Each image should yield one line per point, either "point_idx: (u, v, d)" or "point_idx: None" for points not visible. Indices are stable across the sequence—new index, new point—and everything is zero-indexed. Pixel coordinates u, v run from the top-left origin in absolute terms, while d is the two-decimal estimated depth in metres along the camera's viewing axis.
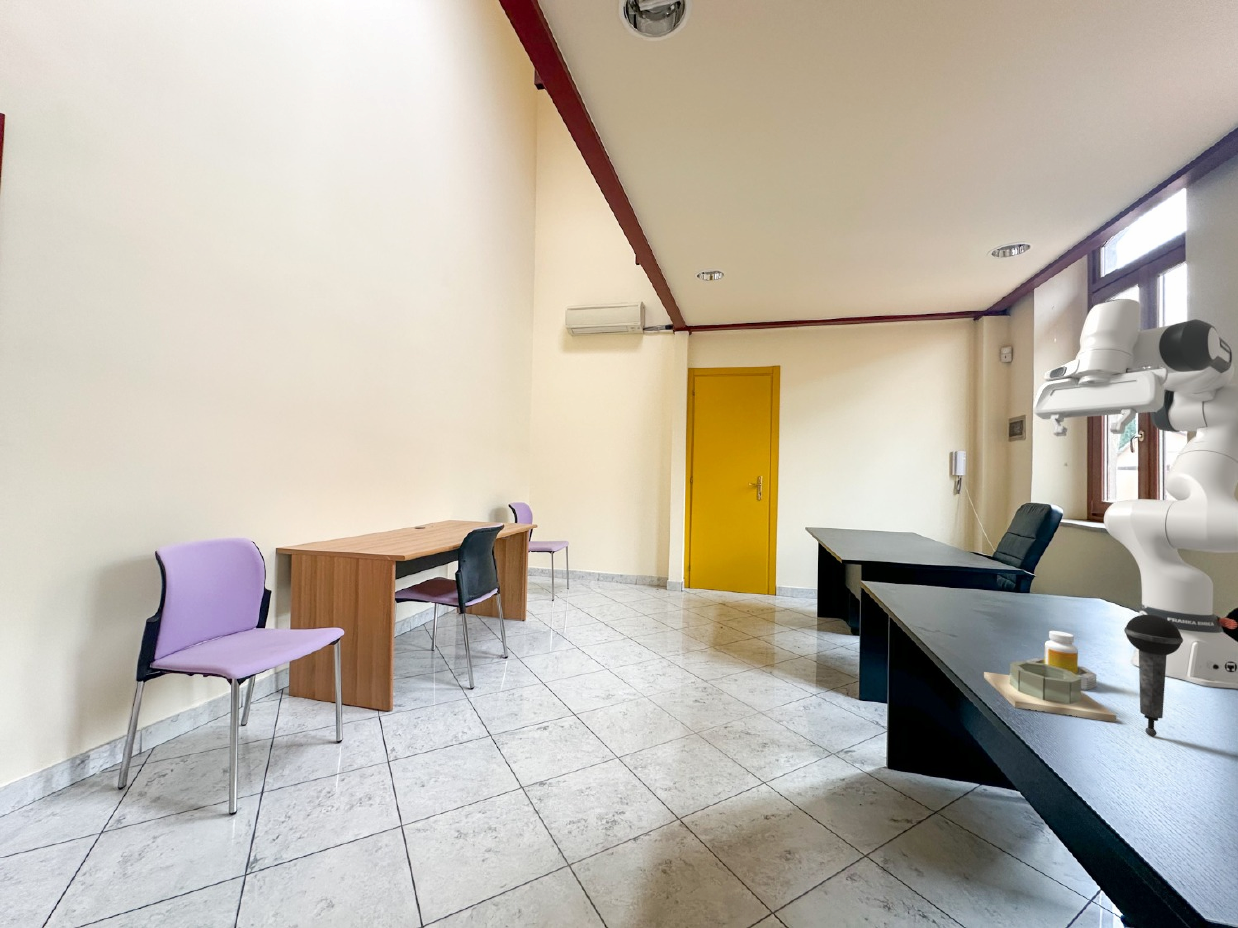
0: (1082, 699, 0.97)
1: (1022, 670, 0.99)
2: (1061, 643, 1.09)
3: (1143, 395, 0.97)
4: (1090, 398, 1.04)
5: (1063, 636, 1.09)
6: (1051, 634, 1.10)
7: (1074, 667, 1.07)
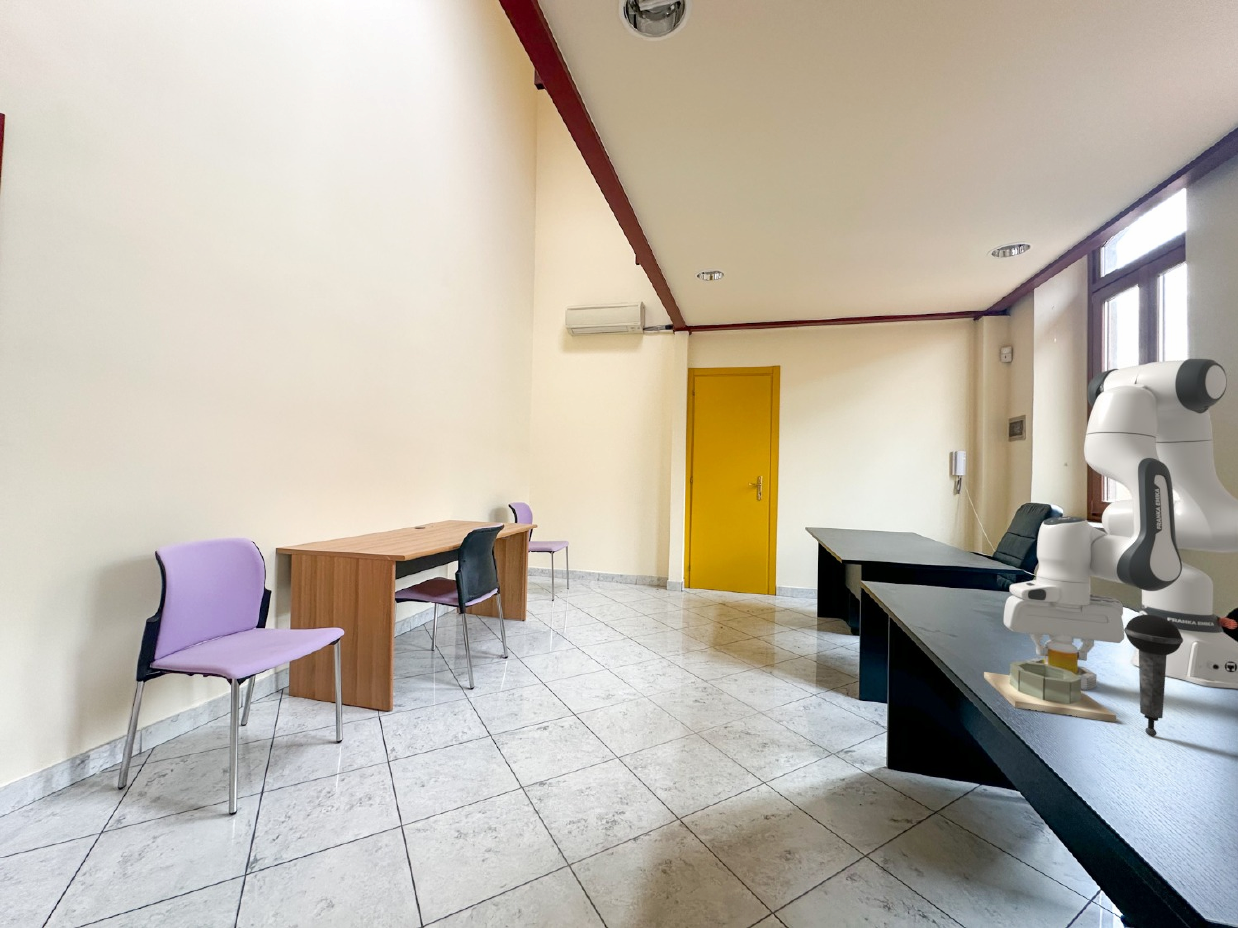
0: (1082, 699, 0.97)
1: (1022, 670, 0.99)
2: (1061, 643, 1.09)
3: (1115, 633, 1.06)
4: (1067, 626, 1.08)
5: (1063, 636, 1.09)
6: None
7: (1074, 667, 1.07)
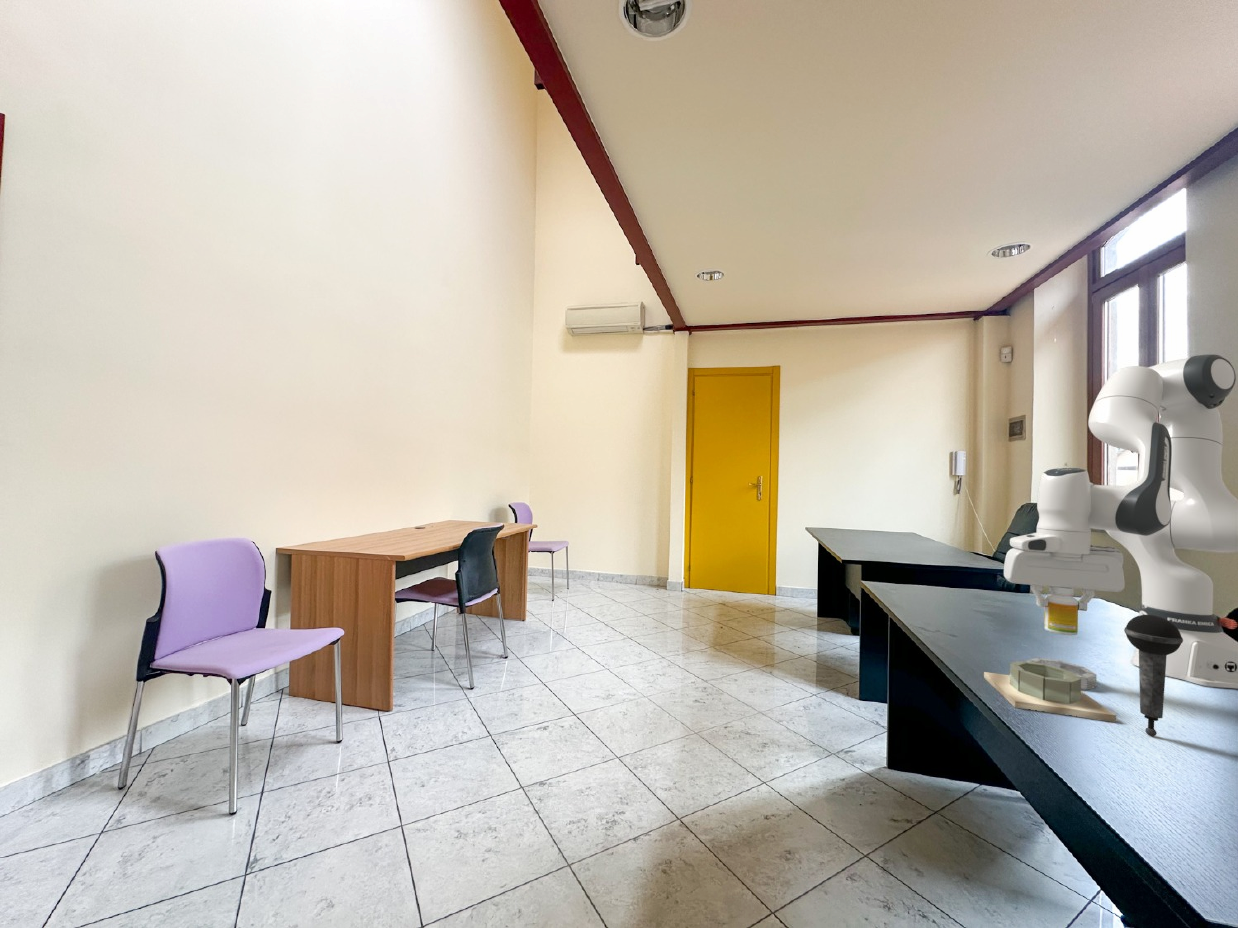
0: (1082, 699, 0.97)
1: (1022, 670, 0.99)
2: (1061, 596, 1.09)
3: (1115, 582, 1.06)
4: (1067, 576, 1.08)
5: (1063, 588, 1.08)
6: (1051, 587, 1.10)
7: (1074, 619, 1.07)
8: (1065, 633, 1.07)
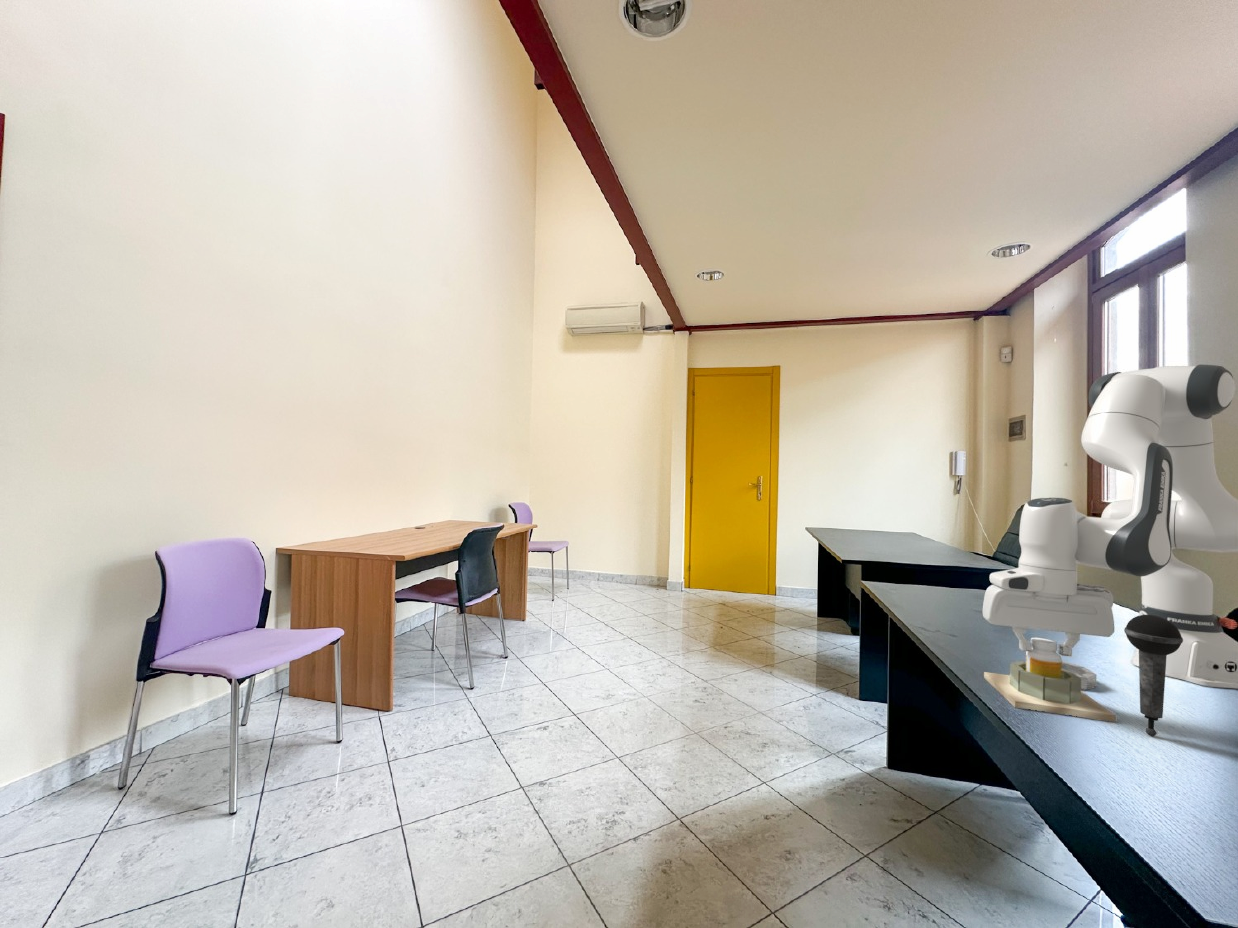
0: (1082, 699, 0.97)
1: (1022, 670, 0.99)
2: (1043, 652, 0.99)
3: (1104, 626, 0.96)
4: (1052, 618, 0.98)
5: (1046, 643, 0.98)
6: (1033, 641, 1.00)
7: (1058, 678, 0.97)
8: None
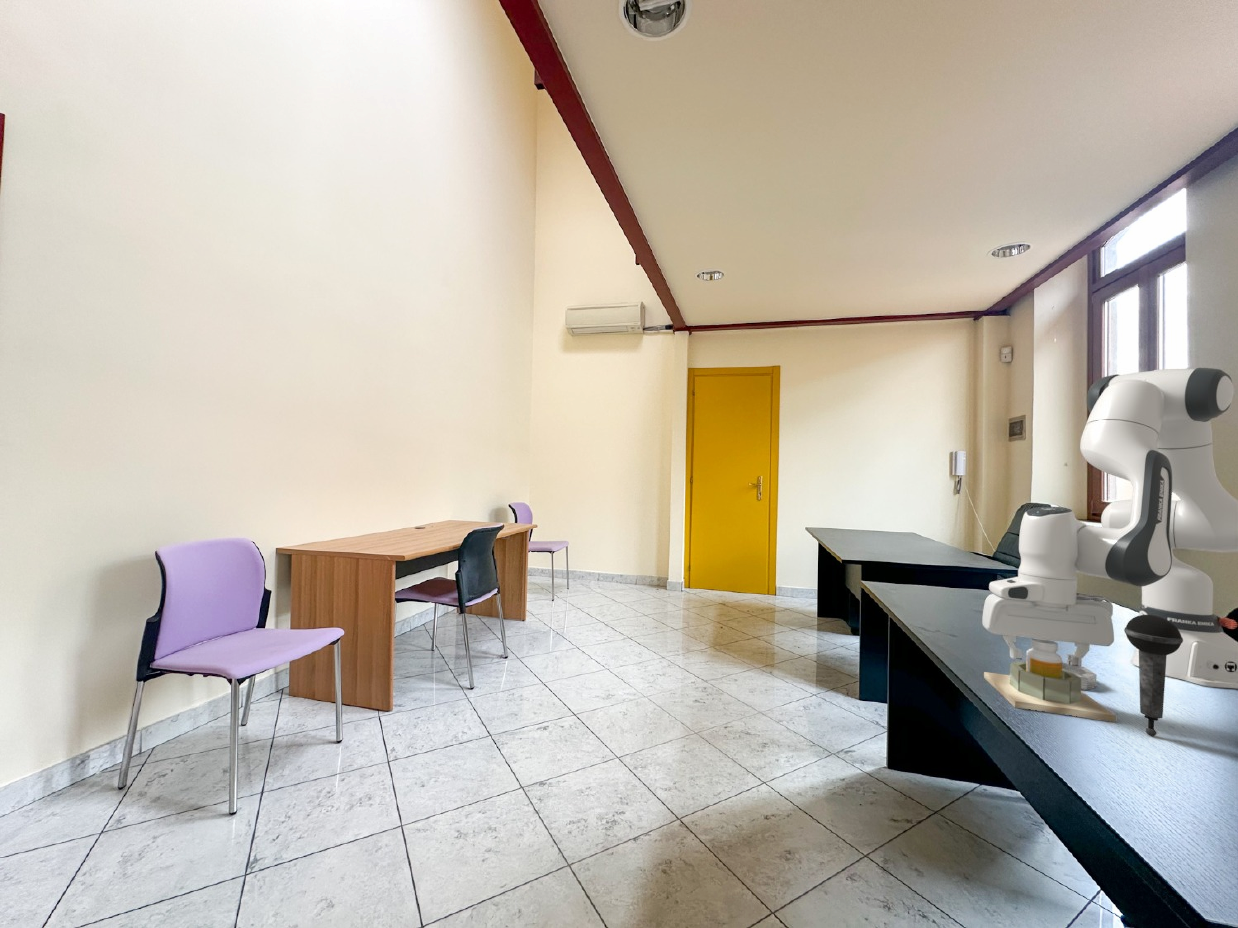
0: (1082, 699, 0.97)
1: (1022, 670, 0.99)
2: (1044, 652, 0.99)
3: (1104, 635, 0.96)
4: (1051, 628, 0.98)
5: (1046, 644, 0.98)
6: (1033, 642, 1.00)
7: None
8: None
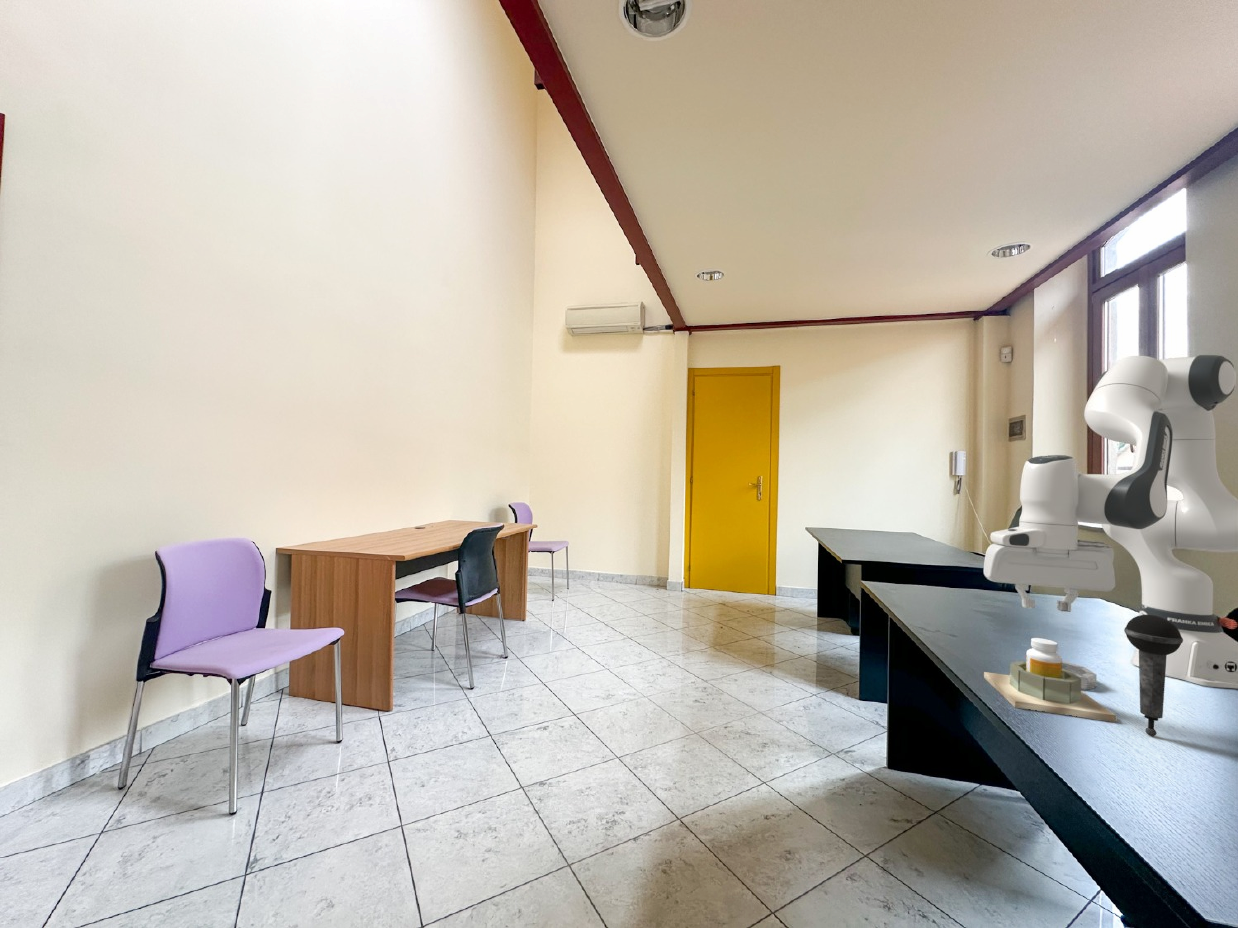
0: (1082, 699, 0.97)
1: (1022, 670, 0.99)
2: (1044, 652, 0.99)
3: (1105, 580, 0.96)
4: (1052, 574, 0.98)
5: (1046, 644, 0.98)
6: (1033, 642, 1.00)
7: None
8: None
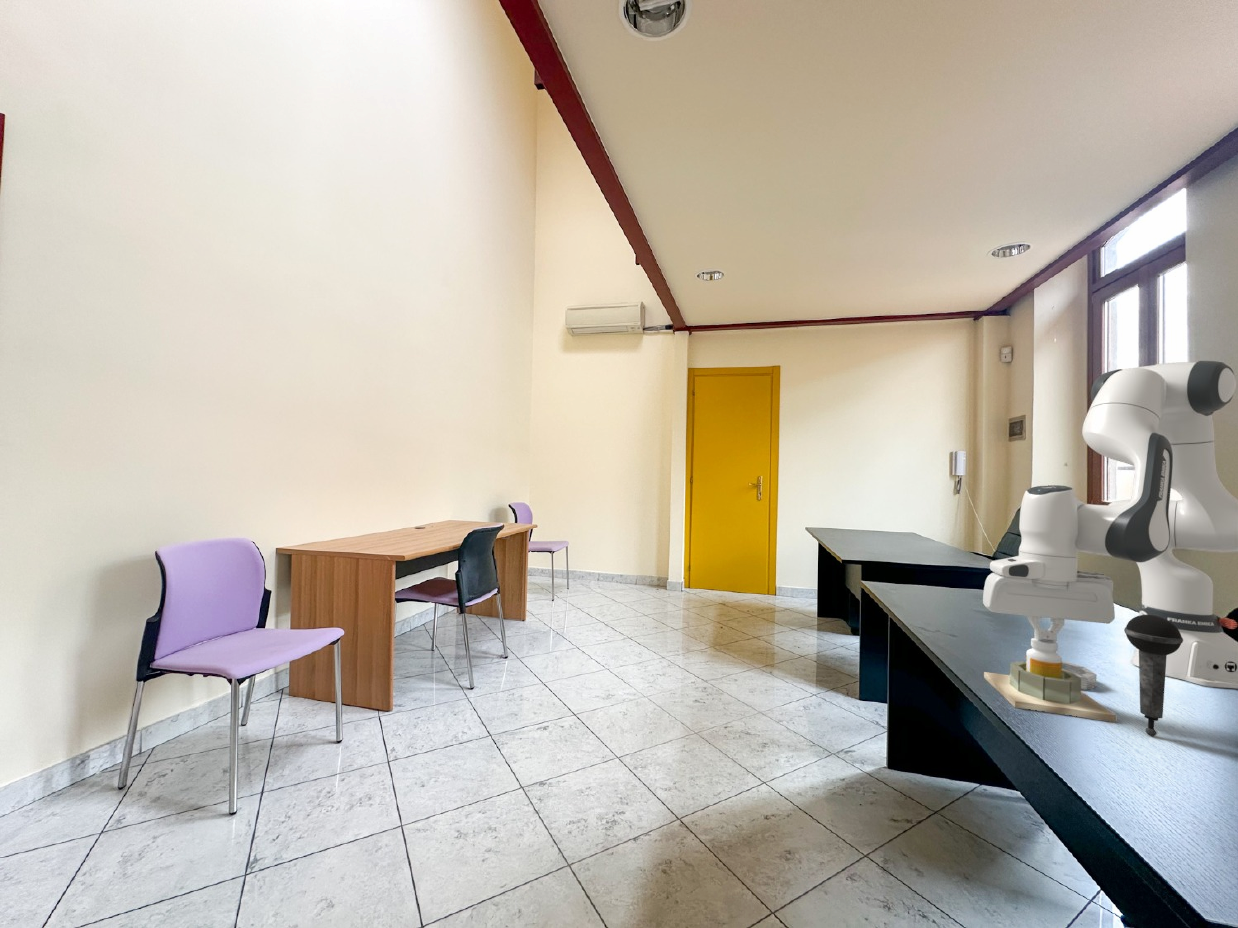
0: (1082, 699, 0.97)
1: (1022, 670, 0.99)
2: (1044, 652, 0.99)
3: (1104, 612, 0.96)
4: (1052, 606, 0.98)
5: (1046, 644, 0.98)
6: (1033, 642, 1.00)
7: None
8: None
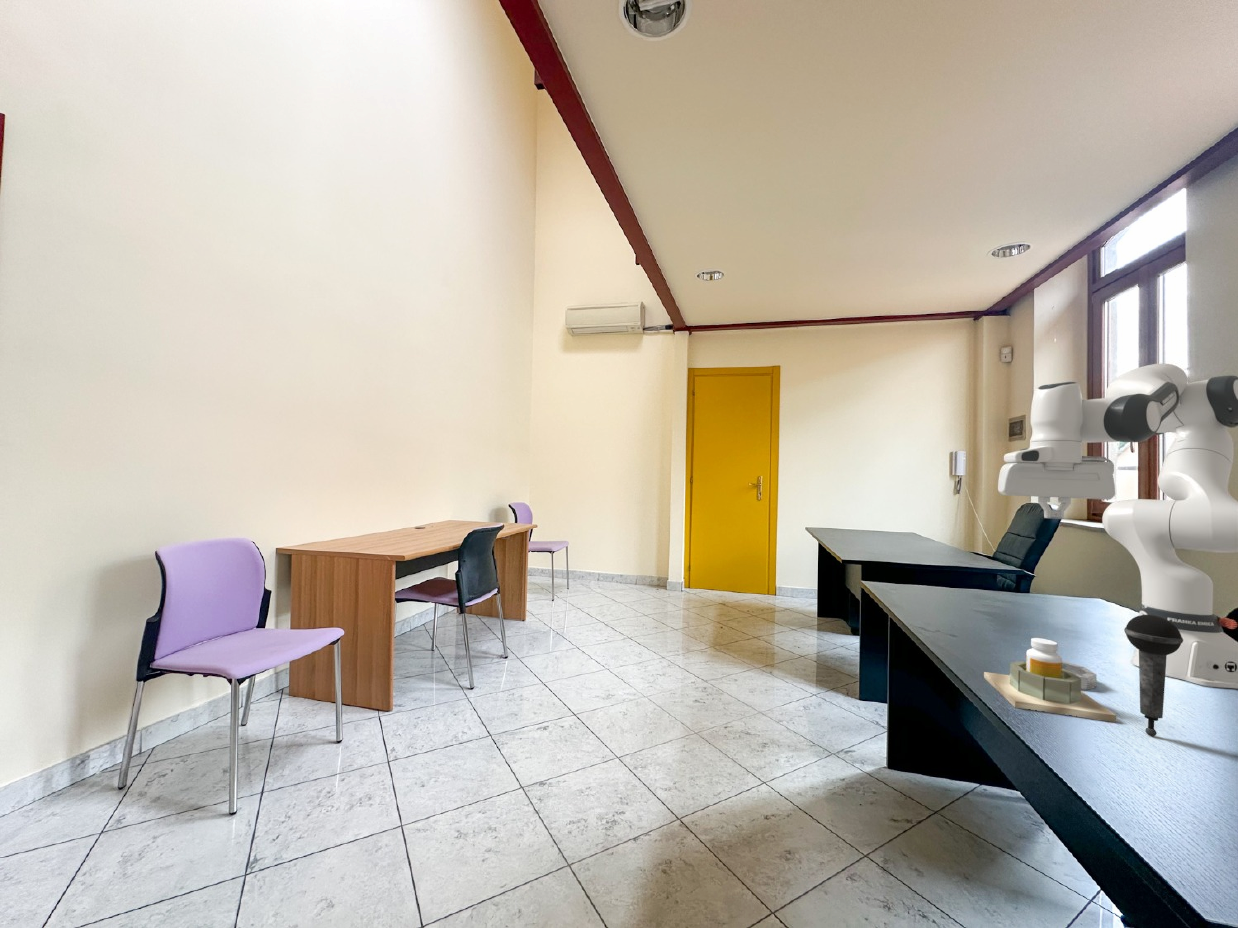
0: (1082, 699, 0.97)
1: (1022, 670, 0.99)
2: (1044, 652, 0.99)
3: (1106, 489, 1.09)
4: (1060, 486, 1.11)
5: (1046, 644, 0.98)
6: (1033, 642, 1.00)
7: None
8: None
